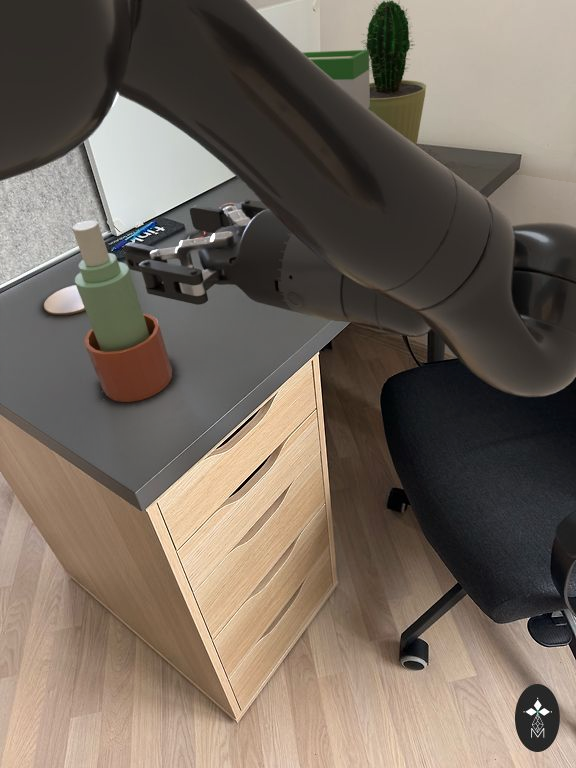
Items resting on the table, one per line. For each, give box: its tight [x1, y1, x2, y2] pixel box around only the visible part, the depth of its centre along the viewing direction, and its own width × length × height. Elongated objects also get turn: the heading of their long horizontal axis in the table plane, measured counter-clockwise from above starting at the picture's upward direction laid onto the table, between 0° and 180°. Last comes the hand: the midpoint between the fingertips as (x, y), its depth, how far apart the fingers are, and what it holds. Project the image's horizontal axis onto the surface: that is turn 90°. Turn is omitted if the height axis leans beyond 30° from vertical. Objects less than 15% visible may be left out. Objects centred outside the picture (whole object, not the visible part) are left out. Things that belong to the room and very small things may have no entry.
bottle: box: [72, 219, 150, 352], centre depth 64 cm, size 6×6×20 cm
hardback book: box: [301, 49, 370, 110], centre depth 105 cm, size 18×7×24 cm, turn 64°
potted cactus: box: [360, 0, 427, 146], centre depth 113 cm, size 15×15×30 cm
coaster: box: [43, 284, 86, 316], centre depth 88 cm, size 9×9×1 cm
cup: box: [83, 313, 173, 403], centre depth 68 cm, size 8×8×7 cm
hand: (162, 235), depth 52 cm, fingers open, 8 cm apart
